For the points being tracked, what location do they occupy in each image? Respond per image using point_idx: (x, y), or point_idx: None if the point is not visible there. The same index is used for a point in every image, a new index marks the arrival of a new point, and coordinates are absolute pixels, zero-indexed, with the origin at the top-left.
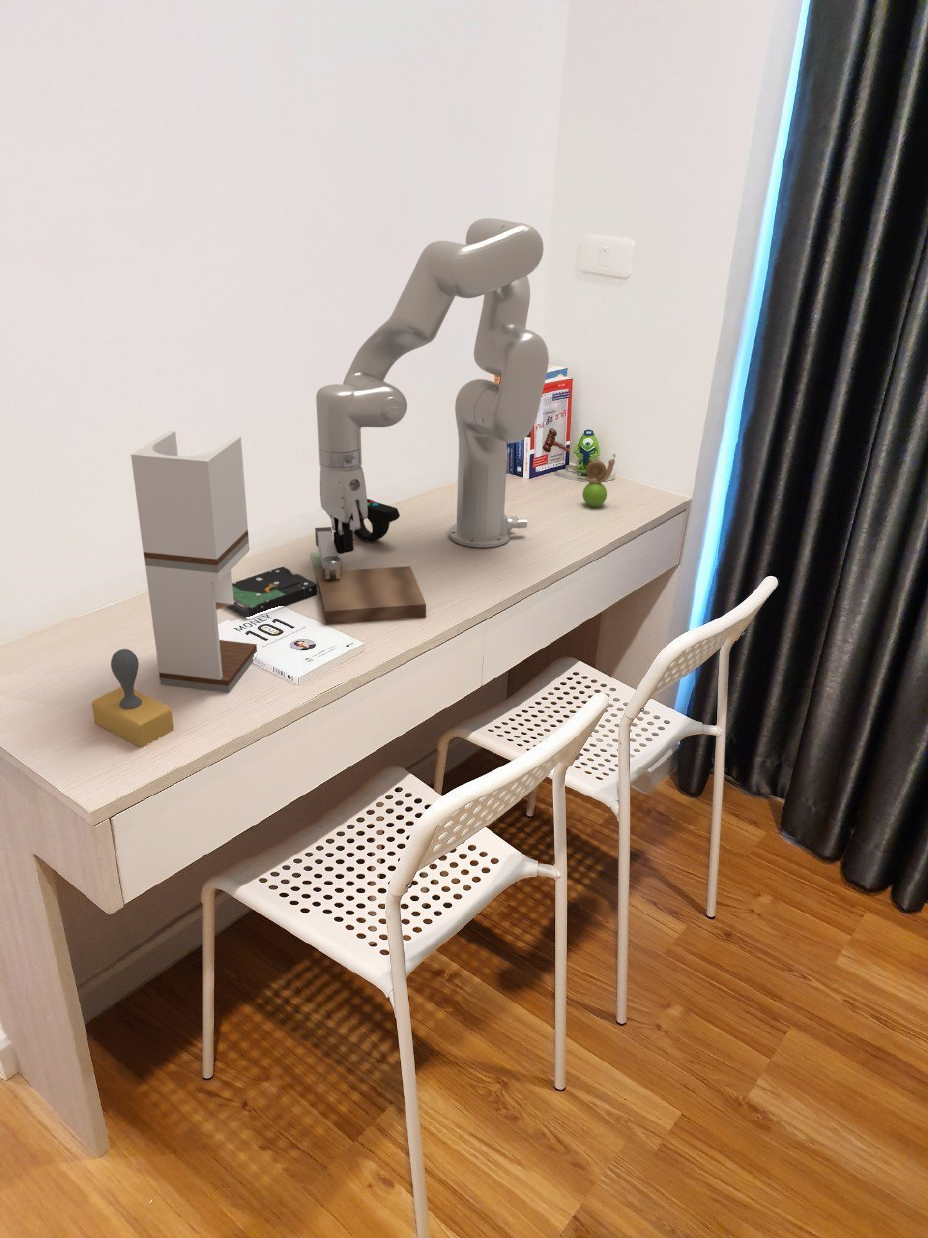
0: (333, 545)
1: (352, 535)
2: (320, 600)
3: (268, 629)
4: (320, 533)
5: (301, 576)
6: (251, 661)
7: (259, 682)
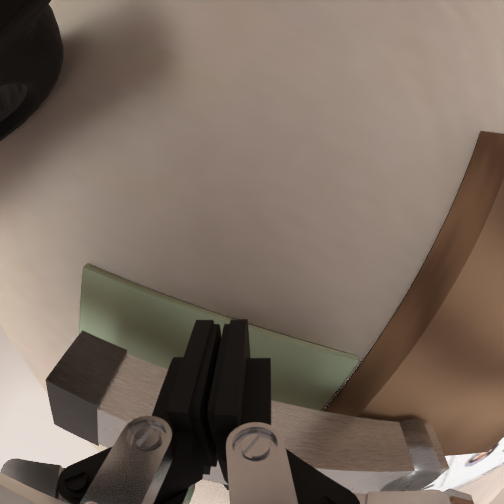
0: None
1: (241, 392)
2: None
3: None
4: None
5: None
6: (455, 492)
7: (484, 481)
